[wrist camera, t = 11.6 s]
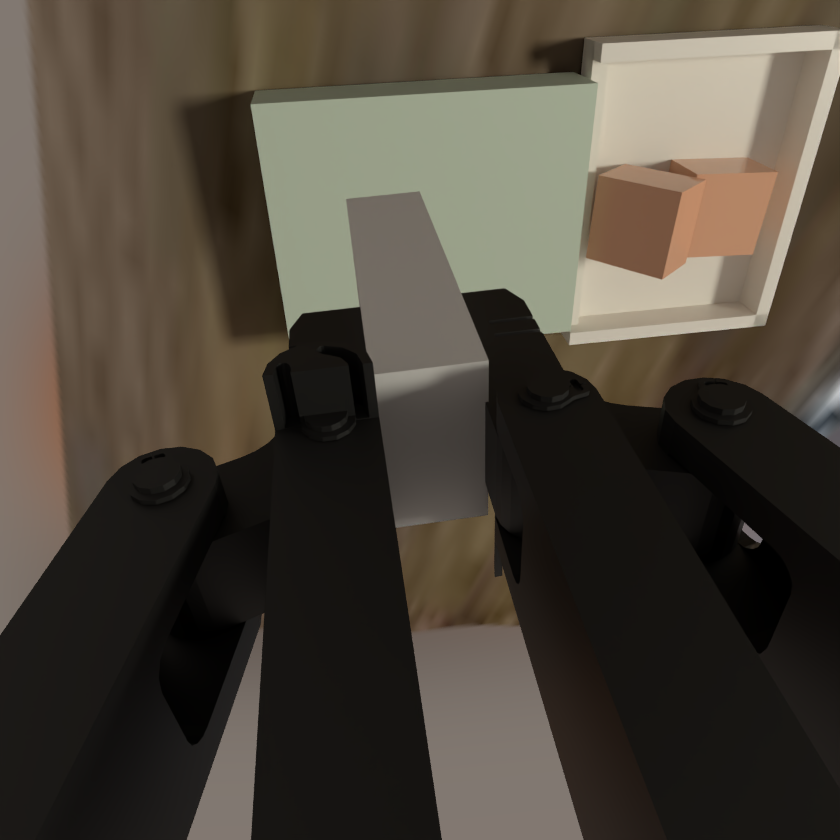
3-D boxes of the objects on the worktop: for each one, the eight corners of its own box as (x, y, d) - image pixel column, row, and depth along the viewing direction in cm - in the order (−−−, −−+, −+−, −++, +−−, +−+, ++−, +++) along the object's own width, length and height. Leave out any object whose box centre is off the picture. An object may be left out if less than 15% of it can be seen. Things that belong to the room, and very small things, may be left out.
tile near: (625, 163, 37) (598, 175, 35) (706, 179, 34) (682, 192, 32) (611, 243, 39) (585, 257, 37) (685, 263, 37) (662, 279, 35)
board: (254, 90, 33) (250, 104, 30) (573, 71, 34) (598, 83, 31) (293, 329, 40) (292, 358, 37) (552, 305, 42) (570, 331, 39)
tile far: (778, 171, 35) (747, 157, 37) (697, 174, 34) (671, 159, 37) (752, 254, 38) (725, 235, 40) (677, 257, 37) (654, 239, 40)
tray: (584, 37, 33) (602, 43, 31) (821, 24, 34) (853, 29, 32) (556, 326, 43) (569, 344, 41) (743, 307, 44) (764, 325, 42)
